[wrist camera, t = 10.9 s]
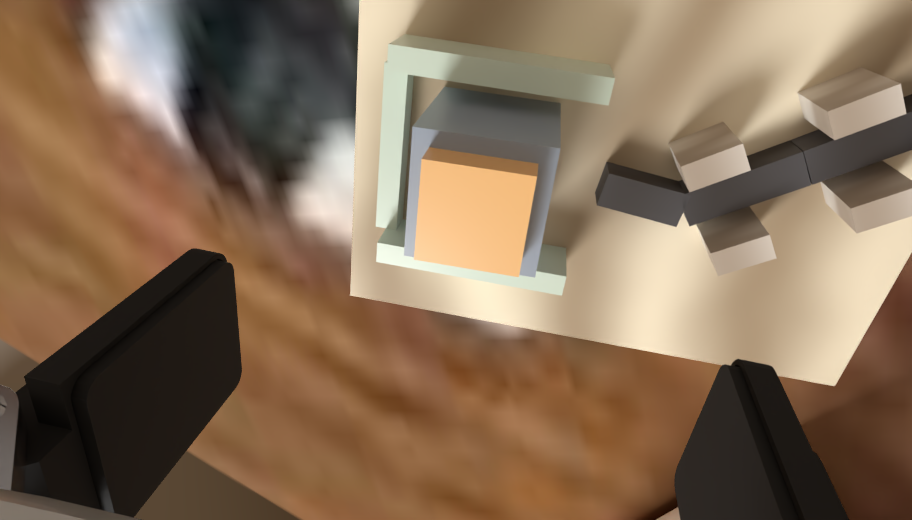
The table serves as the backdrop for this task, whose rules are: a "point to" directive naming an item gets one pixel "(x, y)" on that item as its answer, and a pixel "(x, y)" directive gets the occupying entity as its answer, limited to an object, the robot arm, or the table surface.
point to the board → (631, 129)
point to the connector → (482, 181)
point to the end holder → (476, 69)
